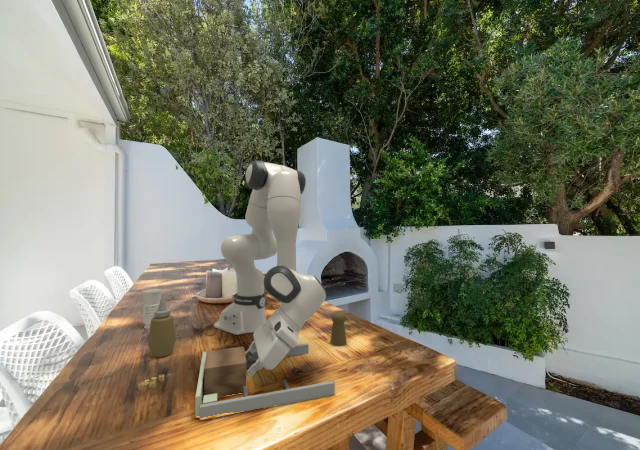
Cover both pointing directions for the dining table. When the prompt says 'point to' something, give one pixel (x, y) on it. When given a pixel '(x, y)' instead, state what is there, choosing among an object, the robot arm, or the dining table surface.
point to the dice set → (152, 383)
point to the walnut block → (225, 371)
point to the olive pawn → (338, 329)
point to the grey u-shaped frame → (271, 397)
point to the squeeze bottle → (161, 332)
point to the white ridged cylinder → (150, 305)
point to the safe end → (202, 389)
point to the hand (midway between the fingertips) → (247, 364)
